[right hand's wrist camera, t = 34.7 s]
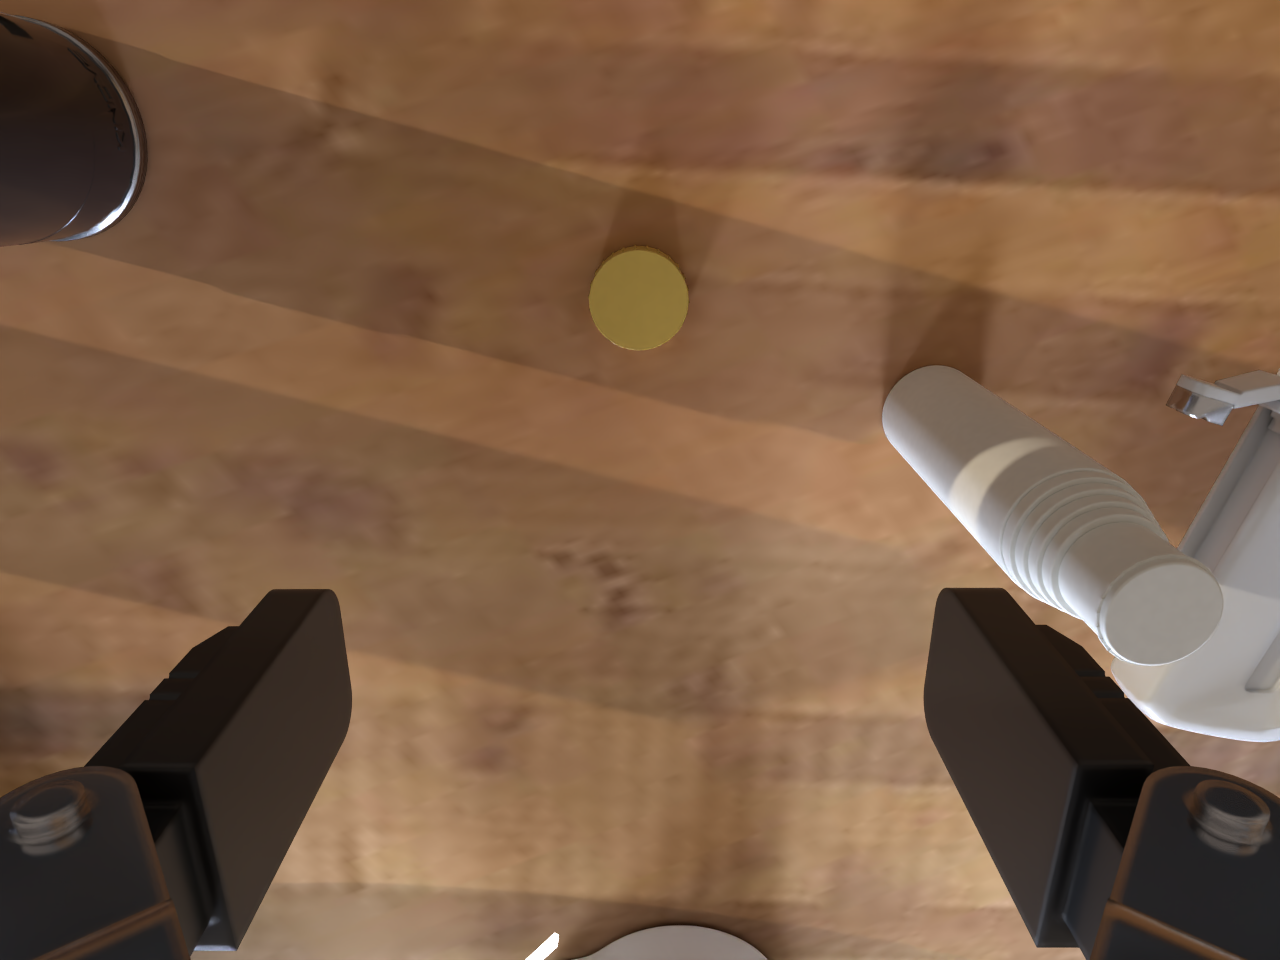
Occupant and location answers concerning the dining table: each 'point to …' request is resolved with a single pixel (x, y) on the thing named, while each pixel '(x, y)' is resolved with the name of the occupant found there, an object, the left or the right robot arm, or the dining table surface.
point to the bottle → (1053, 517)
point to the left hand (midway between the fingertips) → (1128, 491)
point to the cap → (638, 298)
